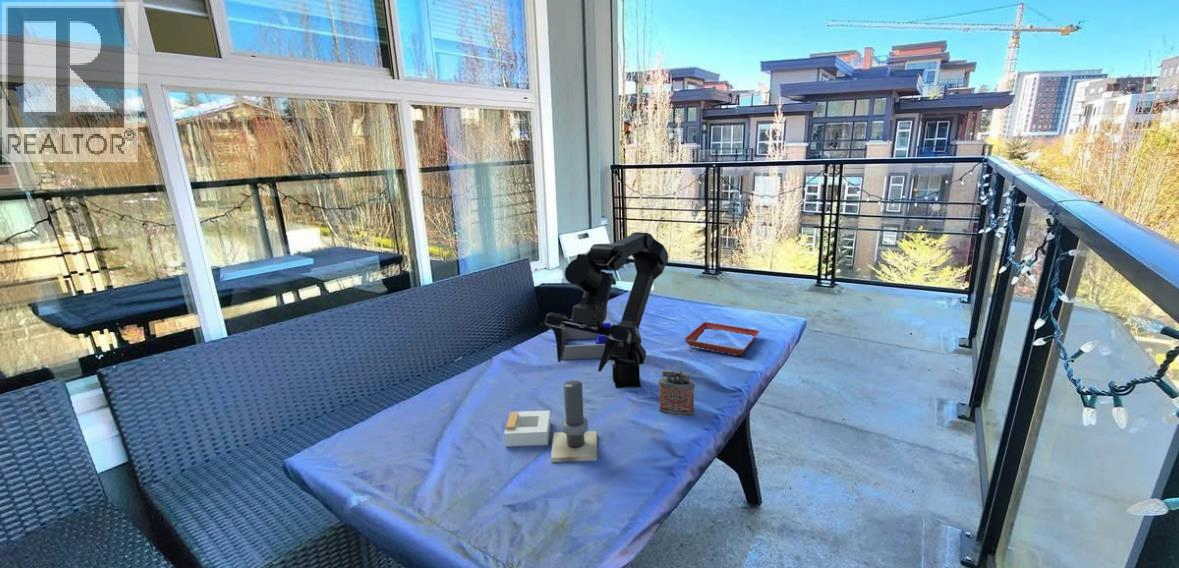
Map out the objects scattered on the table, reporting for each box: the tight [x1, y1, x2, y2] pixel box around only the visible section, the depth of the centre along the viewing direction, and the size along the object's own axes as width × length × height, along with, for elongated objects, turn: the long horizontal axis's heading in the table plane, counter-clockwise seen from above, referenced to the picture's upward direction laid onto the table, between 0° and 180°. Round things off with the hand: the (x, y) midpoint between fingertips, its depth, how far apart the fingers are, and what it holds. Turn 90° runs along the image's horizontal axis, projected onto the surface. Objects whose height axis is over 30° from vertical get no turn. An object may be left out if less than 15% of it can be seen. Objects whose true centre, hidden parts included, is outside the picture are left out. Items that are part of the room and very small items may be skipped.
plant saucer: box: [684, 321, 760, 356], centre depth 152 cm, size 18×18×3 cm
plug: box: [561, 380, 589, 448], centre depth 99 cm, size 5×5×13 cm
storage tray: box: [562, 324, 613, 360], centre depth 153 cm, size 17×17×4 cm
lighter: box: [658, 369, 696, 417], centre depth 112 cm, size 8×3×10 cm, turn 71°
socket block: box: [503, 410, 552, 447], centre depth 106 cm, size 9×9×4 cm
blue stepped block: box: [595, 322, 612, 344], centre depth 153 cm, size 12×4×6 cm, turn 175°
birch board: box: [550, 430, 598, 463], centre depth 101 cm, size 9×9×1 cm
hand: (579, 366), depth 108 cm, fingers open, 9 cm apart
